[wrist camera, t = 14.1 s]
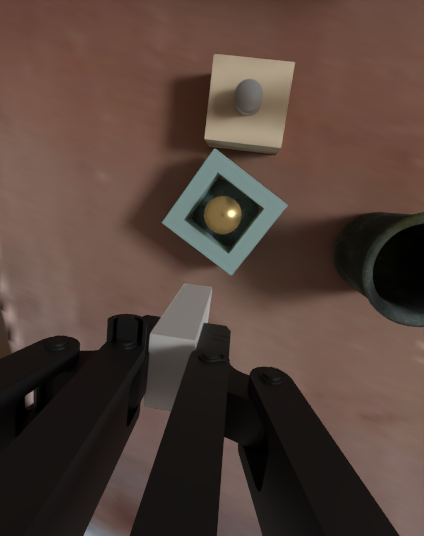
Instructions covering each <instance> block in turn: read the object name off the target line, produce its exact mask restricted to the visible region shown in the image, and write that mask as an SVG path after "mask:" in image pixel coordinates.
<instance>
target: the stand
mask: <svg viewBox="0 0 424 536" xmlns="http://www.w3.org/2000/svg"><path fill="white" fill-rule="evenodd" d="M294 65H295V62H288V61H278V60H269V59H259V58H249V57H239V56H230V55H220V54H214V58H213V67H212V76H211V85H210V93H209V102H208V111H207V120H206V129H205V138H204V139H205V141H206V143H207V145H208V146H209V147H216V148H224V149H233V150H241V151H250V152H258V153H266V154H275V155H276V154H277V153H278V151H279V150H280V149H281V145H282V139H283V133H284V127H285V121H286V114H287V108H288V102H289V96H290V90H291V84H292V77H293V71H294Z"/></svg>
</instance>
